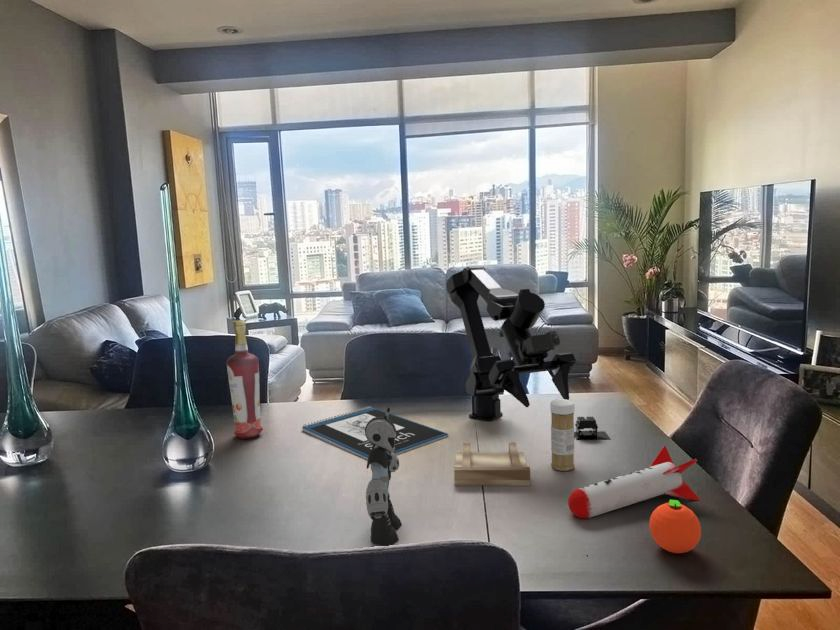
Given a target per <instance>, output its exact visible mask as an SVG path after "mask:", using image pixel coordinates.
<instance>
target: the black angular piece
mask: <svg viewBox="0 0 840 630" xmlns="http://www.w3.org/2000/svg"><path fill="white" fill-rule="evenodd" d="M574 427H575V431H574V441H611V440H612V439H611V437H610V436H609V434H608V433H607V431H605V430H600V431H598V429H599V426H598V423H597V420H596V419H595V417H594V416H586V417H585V416H577V417H576V420H575V423H574ZM584 429H590V430H584Z"/></svg>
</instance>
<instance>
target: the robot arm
mask: <svg viewBox="0 0 840 630" xmlns="http://www.w3.org/2000/svg"><path fill="white" fill-rule="evenodd" d="M445 284H446V285H445V287H446V292H447V293H448V295H449V298H450V300H451V302H452V303H453V304H454V306H455V307H457V308H458V309H459V311H460V314H461V318H462V322H463V327H464V330H465V333H466V337H467V341H468V345H469V349H470V351H471V356H472V362H471V365H470V367H469V373H470V374H469V376H468V378H467V380H466V382H465V390H466V391H465V392H466V393H467V394H469V395H470V396H471V412H470V413H469V414H468V417H469V418H472V419H477V420H483V421H487V422H490V421H493V420H495V419H497V418H499V417H501V416H503V412H502V411H501V407H502V405H501V399H500V393H501V394H504V392H507V393H508V394H510V395H512V397H513V398H515V399H516V400H517V401H518V402H520V403H521V405H523V406H524V407H525V408H529V407H530V405H531V404H530V401H529V398H528V395H527V392H526V391H525V389H524V387H523V385H522V382H521V380H520V379H521V378H520V375H524V374H533V373H541V372H548V373H549V375H550V376H552V378H551V381H552V383H553V385H555V388H556V389H557V391H558V392H559V395H560V396H561V397H562V399H566V400H570V388H569V374H570V372H571V371H572V370H573V369H574V367H575V366H576V365H577V363H578V359H577V358H576V356H575V354H574V353H572V352H560V353H555V355H554V356H553V358H552V359H551V360H548V361H545V359H546V358H547V357H548V356H549V352H550V351H551V350H552V351H553V350H555V348H556V347H557V346H560V344H561V340H560V336H559V334H558V333H557V332H556V330H549V331H547V332H545V333H544V334H537V335H533V333H532V332H531V328H533V327H534V326H535V325H536V324H537V321H538V320H539V318H540V317H541V315H542V313H543V311H544V309H545V305H546V304H545V300H544V299H543V298H542V297H541V296H539V295H538V294H537V293H534V292H531V290H530V288H522V289H520V290H519V292H518V293H517V292H514V291H512V290H509V289H505V288H503V287H502V286H501V285H499V283H498V282H497V281H496V280H494V279H493V278H492V276H490V274H489V273H487V271H486V268H485V267H484V266H481V265H478V266H477V265H476V266H466V267H465V268H463V269H462V270H461V271H458V272H456V273H454V274H452V275H451V276H449V278H448V279H447V280H446V283H445ZM479 297H481V298H482V299H483V300H484V301H485V303H486V304H487V305H486V311H487V313H488V315H489V316H490V319H492V320H493V321H496V322H497V321H503V323H502V325H501V326H500V331H499V338H504V339H505V341H506V344H507V346H508V348H509V352H508V356H509V359H503V360H502V358H501V356H500V355H495V354H494V353H493V352H492V350H491V347H490V343H489V340H488V336H487V333H486V329H485V325H484V322H483V319H482V315H481V311H480V307H479V304H478V300H479ZM510 358H513V359H510Z"/></svg>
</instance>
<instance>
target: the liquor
mask: <svg viewBox="0 0 840 630" xmlns="http://www.w3.org/2000/svg"><path fill="white" fill-rule="evenodd" d="M246 326H247V325H246V320H244V319H243V320H234V321H233V330H234V333H235V343H234V344H235V347H234V348H235V351H234V354H233V355H231V356H229V357H228V358H227V360H226V362H225V363H226V368H227V369H226V371H227V377H228V386H229V391H230V396H231V397H230V399H231V405H232V413H233V422H234V430H233V434H234V435H235V436H236V437H238V438H239V439H240V440H250V439H255V438H257V437H258V436H259V435H260V434H261V433H262V432H263V430H264V428H263V427H262V425H261V423H262V421H261V404H260V403H261V402H260V370H259V369H260V366H259V365H260V364H259V357H258V356H257V355H255V354H253V353H250V352H249V349H248V348H249V347H248V341H247V336H246V330H247V329H246V328H247V327H246Z"/></svg>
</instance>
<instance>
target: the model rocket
mask: <svg viewBox="0 0 840 630" xmlns="http://www.w3.org/2000/svg"><path fill="white" fill-rule="evenodd" d="M697 462H698V459H697V458H694V459H692V460H689V461H686V462H685V463H683V464H680V465H678V466H676V465H675V464H674V461H673V460H672V457H671V456H670V453H669V450H668V448H667V446H666V445H664V446H662V448H661V450H660V451H659V452H658V454H657V455H656V457H655V458H654V460H653V461H652V463H651V464H650V465H649V466H648V467H646V468H643V469H639V470H636V471H632V472H629V473H626V474H623V475H619V476H616V477H612V478H609V479H606V480H602V481H598V482H595V483H592V484H589V485H586V486H582V487H580V488H576V489H574V490H573V491H572V492H571V493H570V494H569V497H568V500H567V501H568V502H567V503H568V507H569V510H570V512H571V514H573V515H574V516H575V517H577V518H579V519H591V518H593V517H597V516H599V515H602V514H606V513H609V512H611V511H612V512H613V511H614V510H617V509H621V508H625V507H627V506H631V505H633V504H637V503H639V502H642V501H646V500H650V499H653V498H655V497H658V496H661V495H668V496H672V497H675V498H676V497H678V498H680V499H685V500H689V501H701V499H700V498H699V497H698V495H697V494H696V493H695V492H694V491H693V490H692V489H691V487H690V486H689V485H688V484H687V482H686V481H685V480H684V479H683V476H682V473H683V472H685V471H686V470H687V469H688V468H690V467H691V466H693V465H694V464H695V463H697Z"/></svg>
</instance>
